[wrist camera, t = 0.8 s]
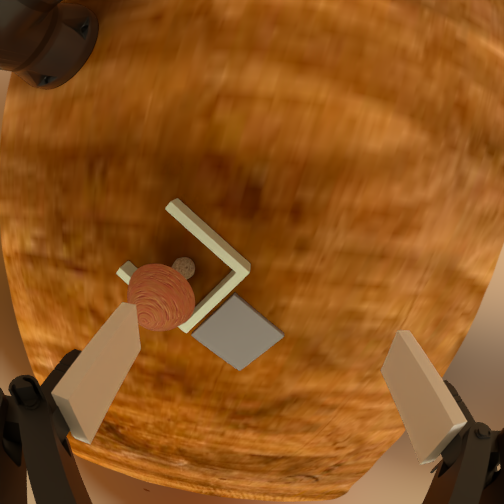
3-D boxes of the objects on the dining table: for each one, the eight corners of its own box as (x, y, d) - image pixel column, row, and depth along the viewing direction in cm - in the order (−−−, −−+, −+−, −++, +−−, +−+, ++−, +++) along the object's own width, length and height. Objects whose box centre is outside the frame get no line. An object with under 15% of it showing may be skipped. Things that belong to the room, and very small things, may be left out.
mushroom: (147, 270, 41) (99, 324, 27) (172, 226, 39) (124, 266, 24) (193, 300, 42) (163, 366, 28) (221, 258, 40) (199, 315, 25)
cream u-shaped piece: (124, 265, 41) (115, 273, 38) (177, 198, 37) (170, 201, 34) (190, 322, 43) (186, 333, 40) (250, 264, 40) (249, 272, 37)
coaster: (192, 332, 44) (191, 335, 43) (234, 292, 41) (234, 294, 40) (239, 367, 46) (239, 370, 45) (284, 333, 43) (284, 336, 42)
